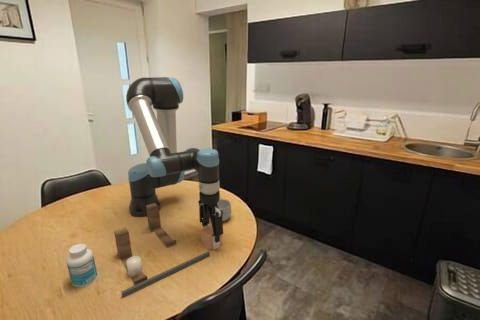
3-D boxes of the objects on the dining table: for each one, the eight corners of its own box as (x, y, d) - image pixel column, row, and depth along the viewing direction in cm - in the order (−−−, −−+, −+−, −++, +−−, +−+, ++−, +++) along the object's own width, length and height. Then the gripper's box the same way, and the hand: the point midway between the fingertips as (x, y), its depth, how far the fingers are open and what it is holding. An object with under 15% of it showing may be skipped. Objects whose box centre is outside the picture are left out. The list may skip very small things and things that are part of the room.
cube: (213, 237, 108) (213, 224, 107) (221, 244, 104) (221, 231, 102) (201, 242, 105) (200, 229, 103) (209, 250, 100) (208, 236, 99)
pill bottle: (79, 274, 90) (71, 241, 86) (101, 273, 91) (95, 240, 87) (67, 292, 83) (58, 256, 79) (92, 290, 84) (84, 254, 80)
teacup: (228, 225, 119) (227, 210, 117) (205, 223, 122) (204, 207, 119) (234, 211, 132) (234, 196, 130) (214, 209, 135) (213, 194, 132)
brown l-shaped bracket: (118, 257, 99) (113, 230, 95) (129, 253, 101) (125, 227, 98) (135, 289, 84) (131, 259, 80) (148, 283, 86) (144, 254, 83)
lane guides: (104, 260, 97) (103, 253, 96) (180, 230, 116) (180, 224, 115) (123, 301, 79) (122, 293, 79) (210, 259, 98) (209, 252, 97)
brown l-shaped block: (148, 228, 117) (146, 205, 114) (157, 225, 120) (155, 202, 116) (167, 251, 102) (164, 225, 99) (176, 247, 105) (174, 221, 101)
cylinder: (126, 271, 90) (124, 259, 88) (139, 266, 92) (138, 254, 91) (130, 279, 86) (128, 266, 85) (144, 273, 89) (142, 260, 87)
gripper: (188, 185, 102) (191, 236, 109) (215, 202, 88) (216, 260, 95) (204, 180, 107) (207, 230, 114) (232, 196, 92) (233, 252, 100)
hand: (211, 243), depth 104 cm, fingers closed on cube, 6 cm apart
